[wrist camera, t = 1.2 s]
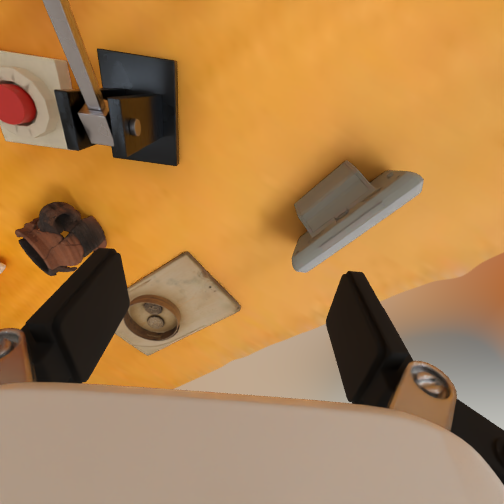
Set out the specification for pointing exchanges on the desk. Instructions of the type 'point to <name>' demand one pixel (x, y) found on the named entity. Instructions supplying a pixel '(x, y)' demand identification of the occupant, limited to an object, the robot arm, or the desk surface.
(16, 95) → the button
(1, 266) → the cable organizer
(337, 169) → the digital clock
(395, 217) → the desk surface
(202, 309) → the board
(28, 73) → the control block
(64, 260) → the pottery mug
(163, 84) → the bracket
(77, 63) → the lever
